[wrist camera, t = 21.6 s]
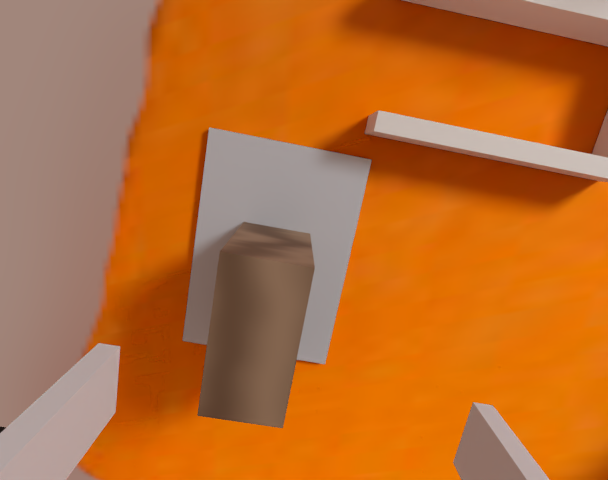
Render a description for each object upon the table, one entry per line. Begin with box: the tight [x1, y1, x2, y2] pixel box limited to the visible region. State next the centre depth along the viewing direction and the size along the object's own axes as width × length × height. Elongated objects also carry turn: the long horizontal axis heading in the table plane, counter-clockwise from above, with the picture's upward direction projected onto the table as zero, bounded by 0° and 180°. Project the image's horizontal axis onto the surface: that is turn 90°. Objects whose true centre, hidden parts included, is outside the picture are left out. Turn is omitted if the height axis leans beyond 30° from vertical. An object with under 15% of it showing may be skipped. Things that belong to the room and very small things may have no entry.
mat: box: [183, 127, 372, 364], centre depth 33 cm, size 20×14×1 cm
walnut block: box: [198, 222, 315, 428], centre depth 29 cm, size 6×12×10 cm, turn 170°
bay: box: [365, 0, 608, 182], centre depth 28 cm, size 12×22×4 cm, turn 79°
